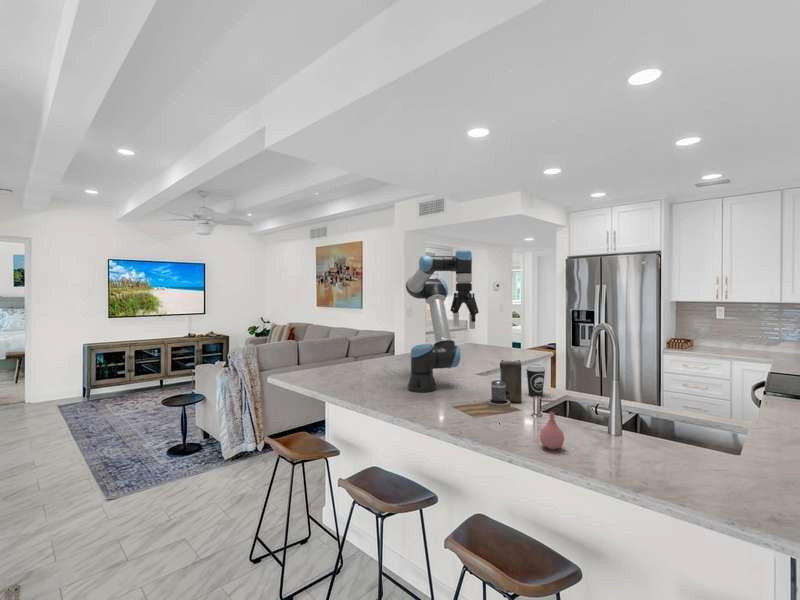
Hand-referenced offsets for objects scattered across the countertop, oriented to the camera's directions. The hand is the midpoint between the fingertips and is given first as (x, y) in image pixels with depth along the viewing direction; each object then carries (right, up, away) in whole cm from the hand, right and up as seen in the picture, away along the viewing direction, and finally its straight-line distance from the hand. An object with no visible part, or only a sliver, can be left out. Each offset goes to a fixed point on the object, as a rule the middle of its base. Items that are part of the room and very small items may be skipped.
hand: (463, 327), depth 199 cm
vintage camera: (+22, -35, +2) cm, 41 cm away
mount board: (+7, -35, -18) cm, 40 cm away
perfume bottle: (+20, -37, -59) cm, 72 cm away
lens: (+13, -34, -16) cm, 39 cm away
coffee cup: (+37, -34, +8) cm, 51 cm away
